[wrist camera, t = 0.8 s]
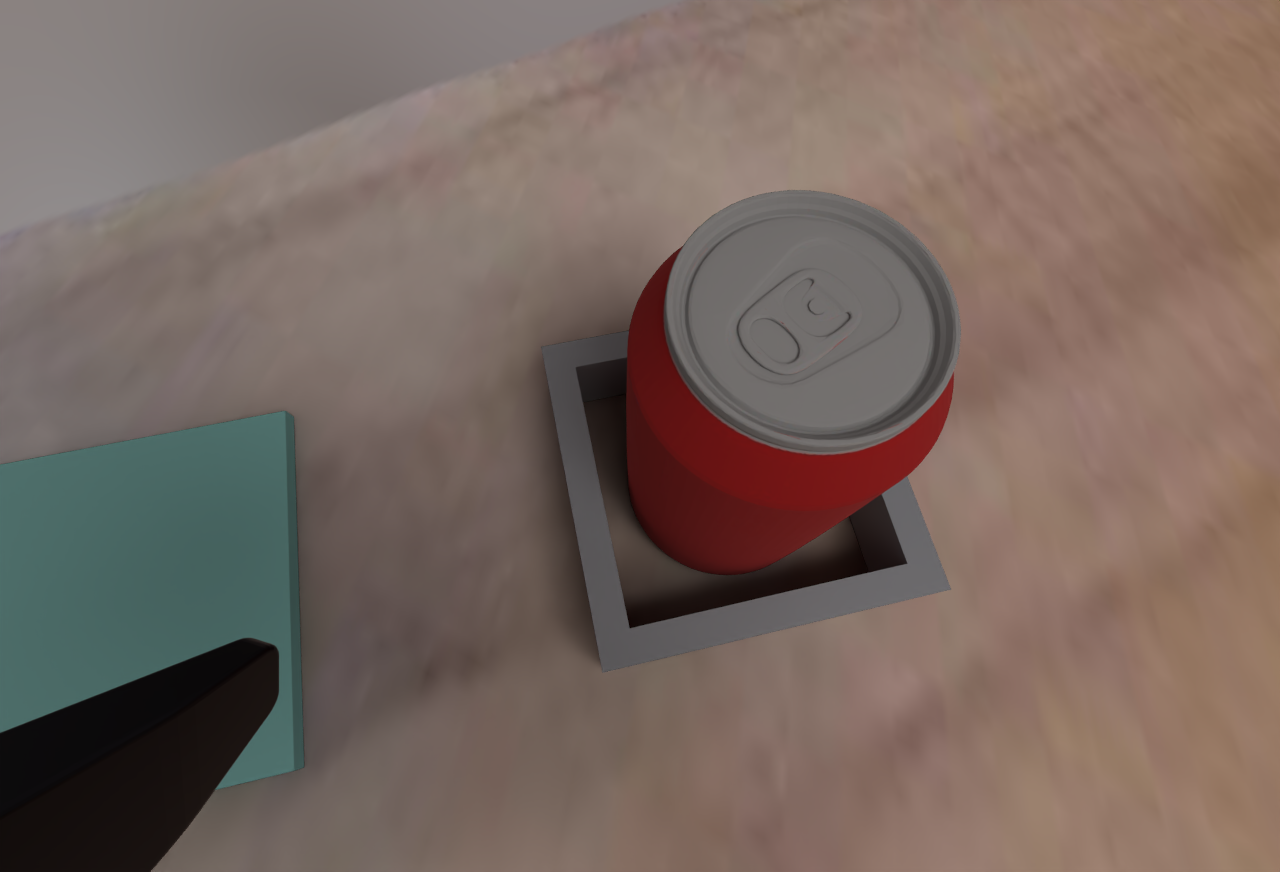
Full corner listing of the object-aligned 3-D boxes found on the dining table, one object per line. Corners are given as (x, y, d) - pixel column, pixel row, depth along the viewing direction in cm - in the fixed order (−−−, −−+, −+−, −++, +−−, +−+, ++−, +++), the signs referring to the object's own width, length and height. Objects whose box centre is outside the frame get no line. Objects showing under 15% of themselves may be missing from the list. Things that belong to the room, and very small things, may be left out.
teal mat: (304, 767, 19) (294, 770, 18) (-118, 869, 18) (-143, 876, 17) (293, 416, 23) (285, 410, 22) (-51, 482, 22) (-69, 477, 21)
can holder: (907, 598, 21) (950, 589, 18) (606, 670, 20) (602, 672, 17) (811, 334, 24) (835, 291, 22) (551, 384, 23) (541, 346, 21)
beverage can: (849, 496, 22) (1080, 328, 11) (713, 621, 20) (817, 576, 9) (723, 368, 24) (809, 108, 13) (589, 474, 22) (548, 284, 11)
